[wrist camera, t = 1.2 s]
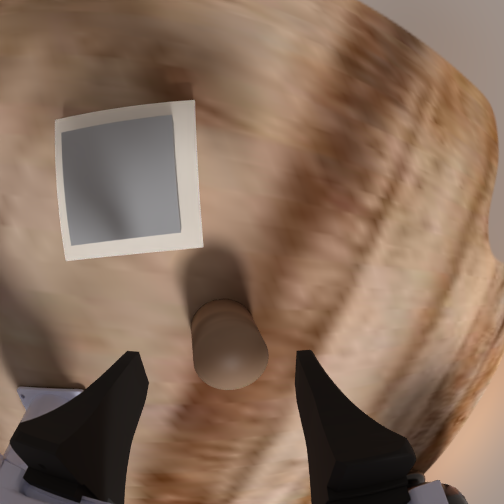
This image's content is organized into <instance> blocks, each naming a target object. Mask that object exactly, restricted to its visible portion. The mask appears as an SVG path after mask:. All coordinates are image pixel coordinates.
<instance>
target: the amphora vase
mask: <svg viewBox="0 0 504 504" xmlns="http://www.w3.org/2000/svg"><path fill="white" fill-rule="evenodd" d="M406 476H407V479H408V485H406V486H407V489H408V491H409V490H411V489H413V488H415V487H418V486H421V485H424V484H427V483H430V482H425V476H424V474H423V473H422V472H420V471H416V470H412V471H409V473H408V474H407V475H406ZM441 485H442V487H443V490H444V493H445V495H446V498H447V501H448V504H468V503H467V501H466V499H465V497H464V496H463V495H462V494H461V493H460V492H459V491H458V490H457V489H456V488H455V487H452V486H450V485H448V484H441Z"/></svg>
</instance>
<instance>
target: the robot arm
mask: <svg viewBox="0 0 504 504" xmlns="http://www.w3.org/2000/svg"><path fill="white" fill-rule="evenodd" d="M148 385H149V381H148V379H147V376H146V373H145V370H144V367H143V363H142V360H141V357H140V354H139V352H133V351H127V352H126V353H125V354H124V355H122V356H121V357H120V358H119V359H118V360H117V361H116V362H115V363H114V364H113V365H112V366H111V367H110V368H109V369H108V370H107V371H106V372H105V373H104V374H103V375H102V376H101V377H99V378H98V379H97V380H96V381H95V382H94V383H92V384H91V385H90V386H89V387H88V388H87V389H85V390H82V389H54V388H35V387H21V386H20V387H18V388H17V392H18V394H19V397H20V399H21V401H22V403H23V405H24V407H25V409H26V412H25V414H24V416H23V418H22V420H21V422H20V424H19V425H18V427H17V429H16V430H15V432H14V434H13V436H12V438H11V439H10V443H9V445H8V447H7V449H6V451H5V454H4V455H2V454H1V453H0V504H124V496H125V483H126V473H127V466H128V459H129V454H130V448H131V443H132V440H133V436H134V433H135V430H136V427H137V424H138V421H139V418H140V416H141V413H142V410H143V407H144V404H145V400H146V396H147V390H148ZM295 389H296V399H297V405H298V409H299V414H300V418H301V423H302V427H303V431H304V436H305V440H306V446H307V454H308V463H309V474H310V487H311V502H312V504H448V501H447V498H446V495H445V493H444V490H443V487H442V485H441V482H440V480H436V481H433V482H430V483H427V484H424V485H421V486H418V487H415V488H413V489H411V490H409V491H408V489H407V486H406V485H408V479H407V476H406V475H407V474H408V473H409V471H410V470H411V468H412V467H413V465H414V463H415V461H416V456H415V454H414V451H413V449H412V447H411V445H410V443H409V442H408V440H407V438H405V437H403V436H401V435H399V434H397V433H395V432H393V431H391V430H389V429H387V428H385V427H384V426H382V425H380V424H379V423H377V422H376V421H375V420H373V419H372V418H370V417H369V416H368V415H366V414H365V413H364V412H362V411H361V410H360V409H359V408H358V407H357V406H355V405H354V404H353V403H352V402H351V401H350V400H349V399H348V398H347V397H346V396H345V395H344V394H343V393H342V392H341V390H340V389H339V388H338V387H337V386H336V385H335V384H334V382H333V381H332V380H331V378H330V377H329V376H328V375H327V373H326V372H325V371H324V369H323V368H322V366H321V365H320V363H319V362H318V360H317V359H316V357H315V355H314V353H313V352H312V351H311V350H302V351H297V355H296V373H295ZM23 395H24V396H23Z"/></svg>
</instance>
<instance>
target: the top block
mask: <svg viewBox="0 0 504 504" xmlns="http://www.w3.org/2000/svg"><path fill="white" fill-rule="evenodd" d="M61 141H62V166H63V181H64V193H65V203H66V212H67V220H68V228H69V235H70V241H71V246H74V245H82V244H90V243H97V242H105V241H113V240H122V239H130V238H138V237H147V236H155V235H164V234H173V233H181V217H180V206H179V195H178V182H177V169H176V155H175V138H174V122H173V117H172V115H165V116H156V117H148V118H140V119H133V120H126V121H119V122H113V123H107V124H102V125H96V126H91V127H86V128H81V129H76V130H71V131H66V132H62V133H61Z"/></svg>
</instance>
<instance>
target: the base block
mask: <svg viewBox="0 0 504 504" xmlns="http://www.w3.org/2000/svg"><path fill="white" fill-rule="evenodd" d="M165 115H172V117H173V122H174V138H175V155H176V169H177V182H178V195H179V206H180V217H181V233H173V234H164V235H155V236H147V237H138V238H130V239H122V240H113V241H105V242H97V243H90V244H82V245H74V246H71V241H70V235H69V228H68V220H67V212H66V203H65V193H64V181H63V166H62V141H61V133H62V132H66V131H71V130H76V129H81V128H86V127H91V126H96V125H102V124H107V123H113V122H119V121H126V120H133V119H140V118H148V117H156V116H165ZM55 162H56V182H57V195H58V206H59V216H60V225H61V232H62V240H63V247H64V253H65V259H66V261H70V260H80V259H90V258H99V257H109V256H119V255H129V254H139V253H149V252H160V251H170V250H180V249H191V248H201V247H203V236H202V223H201V209H200V195H199V179H198V162H197V142H196V118H195V100H187V101H174V102H163V103H153V104H144V105H136V106H128V107H121V108H114V109H108V110H102V111H96V112H91V113H85V114H80V115H75V116H70V117H66V118H61V119H57V120H55Z"/></svg>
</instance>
